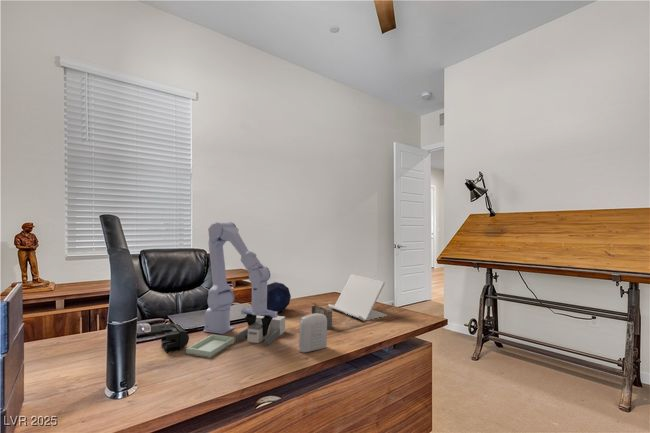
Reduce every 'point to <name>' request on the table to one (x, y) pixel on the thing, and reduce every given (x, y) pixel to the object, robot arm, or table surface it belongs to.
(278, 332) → the printer bay
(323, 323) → the photo printer
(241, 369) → the table surface
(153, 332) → the smart home device
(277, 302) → the decorative orb
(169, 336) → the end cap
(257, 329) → the grey rectangular block
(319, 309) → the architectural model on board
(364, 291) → the tablet stand
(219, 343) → the tray
